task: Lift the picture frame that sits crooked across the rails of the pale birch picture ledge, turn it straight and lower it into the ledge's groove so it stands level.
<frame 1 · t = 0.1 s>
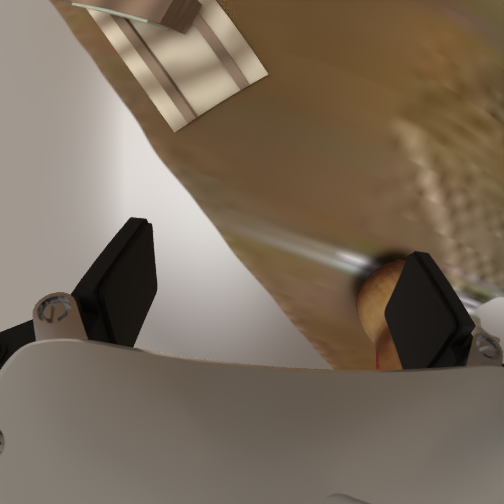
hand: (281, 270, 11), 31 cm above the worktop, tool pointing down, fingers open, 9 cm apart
butternut squash: (386, 279, 49), on the worktop
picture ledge: (168, 28, 30), on the worktop
picture frame: (145, 4, 25), point 3 cm above the worktop, touching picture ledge
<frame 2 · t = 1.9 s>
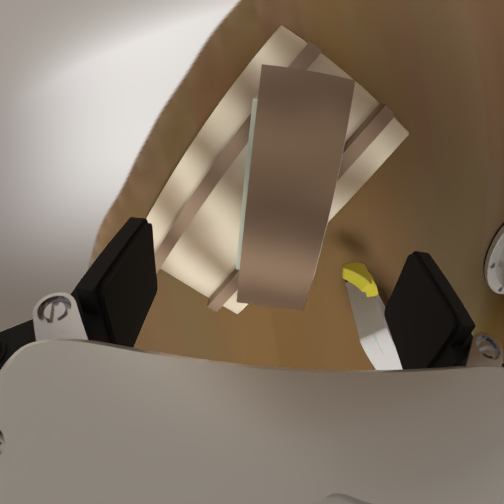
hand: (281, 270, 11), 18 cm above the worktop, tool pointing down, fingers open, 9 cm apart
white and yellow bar: (387, 325, 36), on the worktop
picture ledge: (256, 185, 28), on the worktop
picture frame: (284, 161, 23), point 3 cm above the worktop, touching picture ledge
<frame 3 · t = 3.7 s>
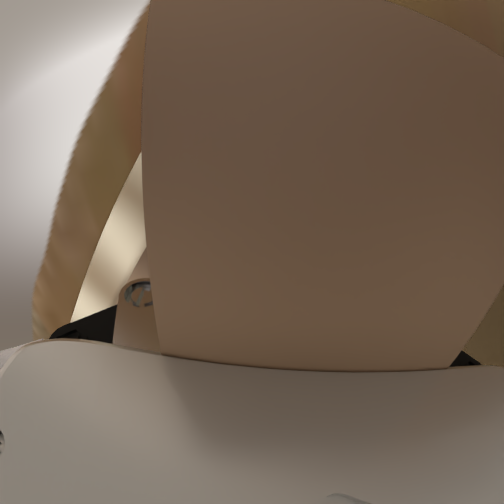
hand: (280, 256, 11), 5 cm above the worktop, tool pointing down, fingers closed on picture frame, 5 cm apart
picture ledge: (233, 255, 17), on the worktop
picture frame: (279, 231, 13), point 3 cm above the worktop, touching gripper, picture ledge
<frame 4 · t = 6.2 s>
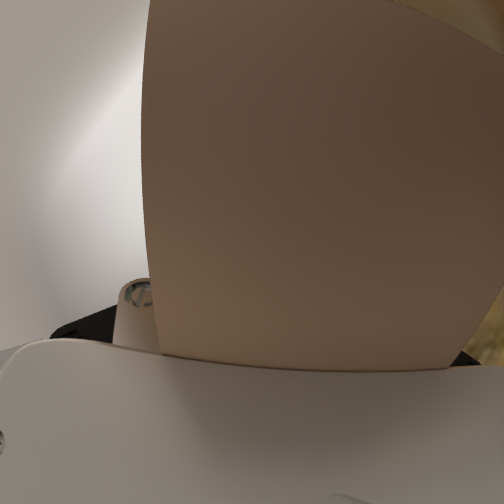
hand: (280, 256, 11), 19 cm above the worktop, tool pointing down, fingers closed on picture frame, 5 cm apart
picture frame: (279, 231, 13), point 17 cm above the worktop, touching gripper
when the fingers open (4 cm above the worktop, at t = 8.7 s): picture frame stays where it is, resting on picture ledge.
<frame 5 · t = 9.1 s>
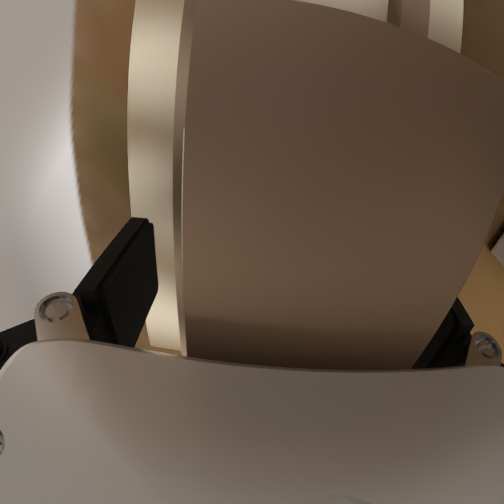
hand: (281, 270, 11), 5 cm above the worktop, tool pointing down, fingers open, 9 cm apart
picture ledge: (286, 149, 13), on the worktop
picture frame: (281, 221, 14), point 1 cm above the worktop, touching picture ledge
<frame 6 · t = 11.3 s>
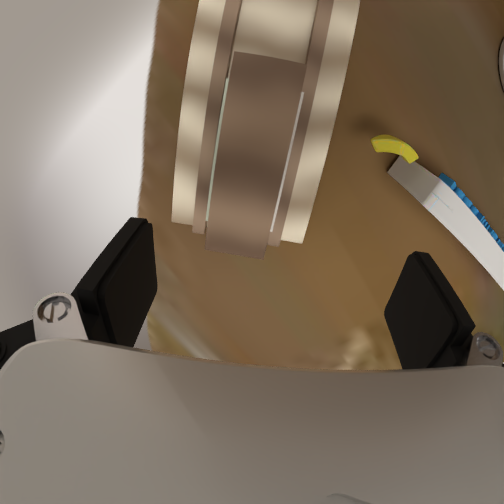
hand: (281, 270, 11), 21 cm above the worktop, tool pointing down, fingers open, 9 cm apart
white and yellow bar: (450, 209, 31), on the worktop
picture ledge: (259, 105, 26), on the worktop
picture frame: (254, 137, 26), point 1 cm above the worktop, touching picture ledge
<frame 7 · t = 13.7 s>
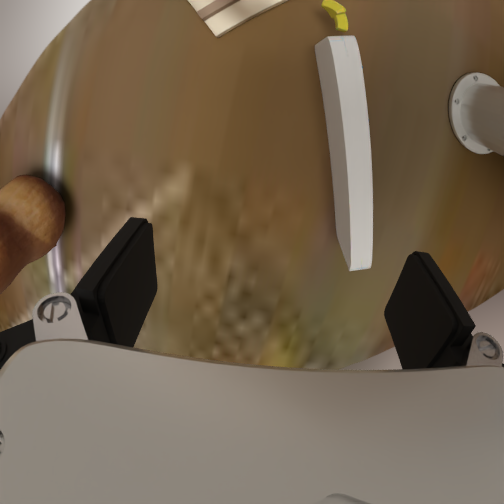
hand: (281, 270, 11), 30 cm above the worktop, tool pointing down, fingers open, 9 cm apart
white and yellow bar: (340, 124, 35), on the worktop
butternut squash: (48, 201, 43), on the worktop
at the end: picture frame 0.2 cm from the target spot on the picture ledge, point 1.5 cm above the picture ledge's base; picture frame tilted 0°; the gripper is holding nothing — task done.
